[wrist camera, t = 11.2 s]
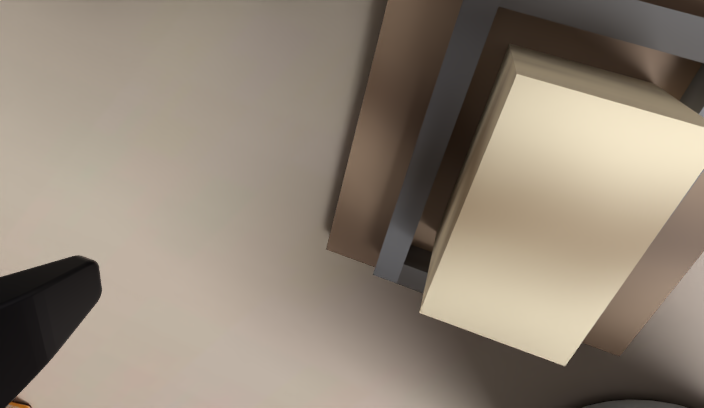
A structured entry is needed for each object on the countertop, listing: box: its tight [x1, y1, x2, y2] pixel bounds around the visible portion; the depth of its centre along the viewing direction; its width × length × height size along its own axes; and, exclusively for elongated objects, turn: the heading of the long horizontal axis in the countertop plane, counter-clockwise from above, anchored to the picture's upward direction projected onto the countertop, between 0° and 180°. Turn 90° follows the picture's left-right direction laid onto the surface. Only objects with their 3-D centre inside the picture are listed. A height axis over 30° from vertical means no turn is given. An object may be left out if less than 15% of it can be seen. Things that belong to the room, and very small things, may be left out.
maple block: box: [419, 44, 704, 366], centre depth 14 cm, size 8×4×5 cm, turn 167°
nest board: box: [326, 0, 704, 356], centre depth 16 cm, size 13×13×2 cm
